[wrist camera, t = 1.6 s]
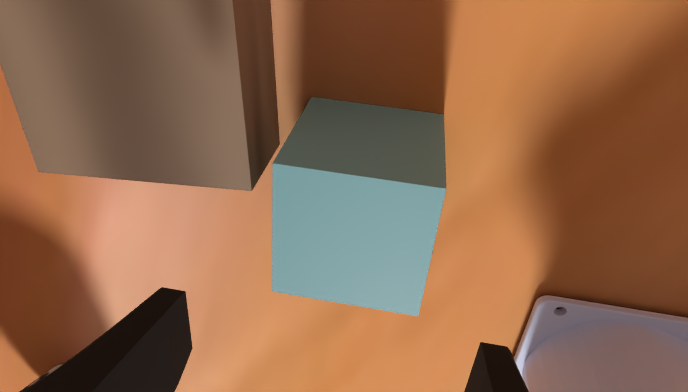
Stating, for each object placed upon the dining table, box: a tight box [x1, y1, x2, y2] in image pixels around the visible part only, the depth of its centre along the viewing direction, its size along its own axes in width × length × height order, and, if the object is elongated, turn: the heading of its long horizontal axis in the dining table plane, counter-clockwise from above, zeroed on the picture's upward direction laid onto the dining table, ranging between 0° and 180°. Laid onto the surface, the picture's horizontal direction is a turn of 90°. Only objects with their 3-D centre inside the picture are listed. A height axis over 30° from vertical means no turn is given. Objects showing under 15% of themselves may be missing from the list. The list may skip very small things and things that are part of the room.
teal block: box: [272, 97, 446, 316], centre depth 18 cm, size 5×5×6 cm
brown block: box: [0, 0, 280, 191], centre depth 17 cm, size 8×8×4 cm
